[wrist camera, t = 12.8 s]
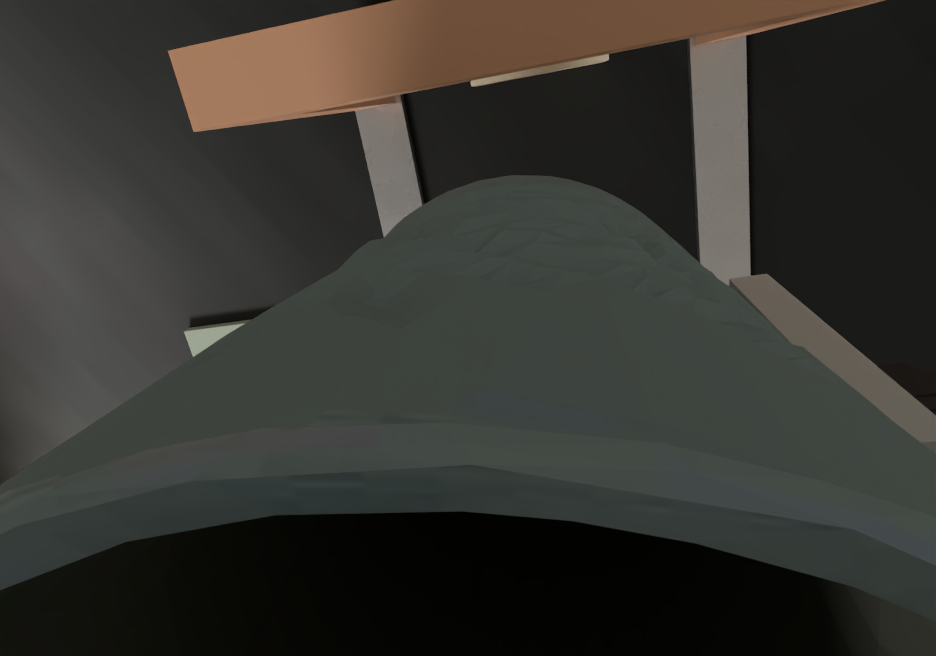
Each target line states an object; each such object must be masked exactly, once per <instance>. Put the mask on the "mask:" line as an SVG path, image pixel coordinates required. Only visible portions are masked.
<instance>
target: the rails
mask: <svg viewBox="0 0 936 656" xmlns="http://www.w3.org/2000/svg"><path fill="white" fill-rule="evenodd" d="M687 53H688V74H689V94H690V115H691V135H692V155H693V176H694V196H695V216H696V237H697V257H698V262H699V263H700V264H701V265H703V266H704V267H705V268H706V269H708V270H709V271H711V272H712V273H713V274H714V275H715V276H716V277H717V278H718V279H719V280H721V281H722V282H724V283H725V284H727V285H728V286H729V279H732V278H739V277H747V276H751V271H750V218H749V164H748V111H747V57H746V36H741V37H736V38H731V39H726V40H721V41H715V42H710V43H705V44H700V45H696V37H693V38H688V39H687ZM395 100H396V103H393V104H388V105H383V106H378V107H373V108H367V109H362V110H357V111H355V112H356V116H357V121H358V125H359V130H360V134H361V138H362V143H363V147H364V152H365V156H366V160H367V165H368V169H369V174H370V178H371V182H372V187H373V191H374V196H375V200H376V204H377V209H378V213H379V218H380V222H381V226H382V231H383V235H384V237H385V236H386V235H387V234H388V233H389V232H390V231H391V230H392V228H393V227H394V226H395V225H396V224H397V223H399V222H400V221H401V220H402V219H403V218H404V217H406V216H407V215H409V214H410V213H412V212H413V211H414V210H416V209H417V208H419V207H421V206H422V205H424V204H425V203H424V198H423V193H422V188H421V183H420V178H419V173H418V168H417V163H416V158H415V153H414V148H413V143H412V138H411V133H410V128H409V123H408V119H407V114H406V109H405V104H404V99H403V94H400V95H395Z"/></svg>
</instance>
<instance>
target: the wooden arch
mask: <svg viewBox="0 0 936 656" xmlns="http://www.w3.org/2000/svg"><path fill="white" fill-rule="evenodd" d="M880 1H884V0H394V1H389V2H385V3H380V4H376V5H371V6H367V7H362V8H358V9H353V10H349V11H344V12H340V13H335V14H331V15H326V16H322V17H318V18H313V19H309V20H304V21H300V22H295V23H291V24H286V25H282V26H277V27H273V28H268V29H264V30H259V31H255V32H250V33H246V34H241V35H237V36H232V37H228V38H223V39H219V40H215V41H210V42H206V43H201V44H197V45H192V46H188V47H183V48H179V49H174V50H170V51H168V52H169V56H170V59H171V62H172V65H173V68H174V71H175V74H176V78H177V81H178V84H179V87H180V90H181V93H182V97H183V100H184V103H185V106H186V109H187V112H188V115H189V119H190V122H191V125H192V128H193V131H194V132H197V131H205V130H213V129H220V128H228V127H235V126H243V125H251V124H258V123H266V122H273V121H281V120H288V119H296V118H304V117H311V116H319V115H326V114H334V113H342V112H349V111H357V110H362V109H367V108H373V107H378V106H383V105H388V104H393V103H396V100H395V95H400V94H405V93H411V92H416V91H421V90H426V89H431V88H436V87H441V86H447V85H452V84H457V83H462V82H467V81H472V80H477V79H482V78H488V77H493V76H498V75H503V74H508V73H513V72H518V71H524V70H529V69H534V68H539V67H544V66H549V65H554V64H559V63H565V62H570V61H575V60H580V59H585V58H590V57H595V56H601V55H606V54H611V53H616V52H621V51H626V50H631V49H636V48H642V47H647V46H652V45H657V44H662V43H667V42H672V41H678V40H683V39H688V38H693V37H696V45H700V44H705V43H710V42H715V41H721V40H726V39H731V38H736V37H741V36H746V35H750V34H754V33H758V32H762V31H766V30H770V29H773V28H777V27H781V26H785V25H789V24H793V23H797V22H801V21H805V20H809V19H813V18H817V17H821V16H825V15H829V14H833V13H837V12H841V11H845V10H849V9H853V8H857V7H861V6H865V5H869V4H872V3H876V2H880Z"/></svg>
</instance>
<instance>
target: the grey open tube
mask: <svg viewBox="0 0 936 656" xmlns="http://www.w3.org/2000/svg"><path fill="white" fill-rule="evenodd" d="M0 656H936V454H935V453H934V452H932V451H931V450H930V449H928V448H927V447H926V446H925V445H923V444H922V443H921V442H919V441H918V440H917V439H915V438H914V437H913V436H912V435H910V434H909V433H908V432H906V431H905V430H904V429H903V428H901V427H900V426H899V425H897V424H896V423H895V422H893V421H892V420H891V419H890V418H889V417H887V416H886V415H885V414H884V413H883V412H882V411H880V410H879V409H878V408H877V407H876V406H875V405H873V404H872V403H871V402H870V401H869V400H868V399H866V398H865V397H864V396H863V395H861V394H860V393H859V392H858V391H856V390H855V389H854V388H853V387H852V386H850V385H849V384H848V383H847V382H845V381H844V380H843V379H842V378H840V377H839V376H838V375H837V374H835V373H834V372H833V371H832V370H830V369H829V368H828V367H827V366H826V365H824V364H823V363H822V362H821V361H819V360H818V359H817V358H816V357H814V356H813V355H812V354H811V353H810V352H808V351H807V350H806V349H805V348H804V347H802V346H796V345H793V344H791V343H790V342H788V341H787V340H785V339H784V337H783V336H782V335H781V334H780V333H779V332H778V331H777V330H776V328H775V327H774V326H773V325H772V324H771V323H770V322H769V321H768V320H766V319H765V318H764V317H763V316H762V315H761V314H760V313H759V312H758V311H757V310H755V309H754V308H753V307H752V306H751V305H750V304H749V303H748V302H747V301H746V300H744V299H743V298H742V297H741V296H740V295H739V294H738V293H737V292H736V291H735V290H733V289H732V288H731V287H730V286H728V285H727V284H725V283H724V282H722V281H721V280H719V279H718V278H717V277H716V276H715V275H714V274H713V273H712V272H711V271H709V270H708V269H706V268H705V267H704V266H703V265H701V264H700V263H699V262H698V261H697V260H696V259H695V258H693V257H692V256H691V255H690V254H689V253H688V252H687V251H686V250H685V249H684V248H683V247H682V246H681V245H679V244H678V243H677V242H676V241H675V240H673V239H672V238H671V237H670V236H669V235H668V234H667V233H666V232H665V231H663V230H662V229H661V228H660V227H659V226H657V225H656V224H655V223H654V222H652V221H651V220H650V219H649V218H648V217H646V216H645V215H644V214H643V213H642V212H640V211H638V210H637V209H635V208H634V207H632V206H630V205H629V204H627V203H626V202H624V201H623V200H621V199H619V198H617V197H615V196H613V195H611V194H609V193H607V192H605V191H603V190H601V189H598V188H595V187H592V186H589V185H586V184H583V183H579V182H576V181H573V180H568V179H563V178H557V177H552V176H520V175H510V176H504V177H498V178H492V179H487V180H481V181H476V182H474V183H471V184H468V185H465V186H462V187H459V188H456V189H454V190H451V191H448V192H446V193H444V194H442V195H440V196H438V197H436V198H434V199H433V200H431V201H429V202H427V203H426V204H424V205H422V206H421V207H419V208H417V209H416V210H414V211H413V212H412V213H410V214H409V215H407V216H406V217H404V218H403V219H402V220H401V221H400V222H399V223H397V224H396V225H395V226H394V227H393V228H392V230H391V231H390V232H389V233H388V234H387V235H386V236H385V237H384V238H383V239H377V240H371V241H369V242H368V243H366V244H365V245H364V246H362V247H361V248H360V249H358V250H357V251H356V252H355V253H354V254H353V255H352V256H351V257H350V258H349V259H348V260H347V261H346V262H345V263H344V264H343V265H342V266H341V267H340V268H339V269H338V270H337V271H335V272H333V273H331V274H330V275H328V276H326V277H324V278H322V279H321V280H319V281H317V282H315V283H314V284H312V285H310V286H308V287H307V288H305V289H303V290H301V291H300V292H298V293H296V294H294V295H293V296H291V297H289V298H287V299H286V300H284V301H282V302H280V303H279V304H277V305H275V306H273V307H272V308H270V309H268V310H267V311H265V312H263V313H262V314H260V315H258V316H257V317H255V318H254V319H252V320H250V321H249V322H247V323H245V324H244V325H242V326H240V327H239V328H237V329H235V330H234V331H232V332H230V333H229V334H227V335H225V336H224V337H222V338H221V339H219V340H218V341H216V342H215V343H213V344H212V345H210V346H209V347H207V348H206V349H204V350H203V351H201V352H200V353H198V354H197V355H196V356H194V357H193V358H191V359H190V360H188V361H187V362H185V363H184V364H182V365H181V366H179V367H178V368H176V369H175V370H173V371H172V372H170V373H169V374H167V375H166V376H164V377H163V378H161V379H160V380H158V381H157V382H155V383H154V384H152V385H151V386H149V387H148V388H146V389H145V390H143V391H142V392H140V393H139V394H137V395H136V396H134V397H132V398H131V399H129V400H128V401H126V402H125V403H123V404H122V405H120V406H119V407H117V408H116V409H114V410H113V411H111V412H110V413H108V414H107V415H105V416H104V417H102V418H101V419H99V420H98V421H96V422H94V423H93V424H91V425H90V426H88V427H87V428H85V429H84V430H82V431H81V432H79V433H78V434H76V435H75V436H73V437H72V438H70V439H69V440H67V441H66V442H64V443H63V444H61V445H60V446H58V447H56V448H55V449H53V450H52V451H50V452H49V453H47V454H46V455H44V456H43V457H41V458H40V459H38V460H37V461H35V462H34V463H32V464H31V465H29V466H28V467H26V468H25V469H23V470H22V471H20V472H18V473H17V474H15V475H14V476H12V477H11V478H9V479H8V480H6V481H5V482H3V483H2V484H0Z"/></svg>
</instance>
